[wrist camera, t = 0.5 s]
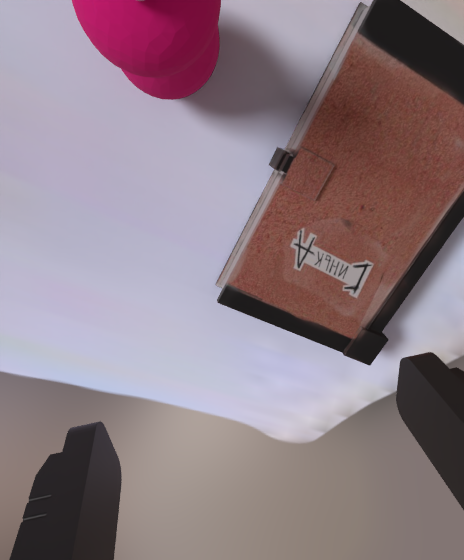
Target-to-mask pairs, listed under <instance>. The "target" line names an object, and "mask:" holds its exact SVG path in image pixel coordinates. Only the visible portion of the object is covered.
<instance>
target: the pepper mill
mask: <svg viewBox="0 0 464 560" xmlns="http://www.w3.org/2000/svg"><path fill="white" fill-rule="evenodd" d="M72 3H73V6H74V9H75V12H76V15H77V18H78V20H79V22H80V24H81V26H82V28H83V30H84V31H85V33H86V34H87V36H88V37H89V39H90V40H91V42H92V43H93V45H94V46H95V47H96V48H97V49H98V50H99V52H100V53H101V54H102V55H103V56H104V57H106V58H107V59H108V60H109V61H110V62H112V63H113V64H114V65H116V66H117V67H119V68H121V69H122V71H123V72H124V74H125V75H126V76H127V77H128V79H129V80H130V81H131V82H132V83H133V84H134V85H135V86H136V87H137V88H139V89H140V90H142V91H143V92H145V93H147V94H149V95H151V96H153V97H157V98H160V99H172V100H173V99H180V98H183V97H186V96H189V95H191V94H193V93H195V92H196V91H197V90H198V89H200V88H201V87H202V86H203V85H204V84H205V83H206V82H207V80H208V79H209V77H210V76H211V74H212V72H213V70H214V68H215V66H216V62H217V59H218V54H219V31H218V20H219V14H220V7H221V0H72Z"/></svg>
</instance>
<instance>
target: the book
mask: <svg viewBox="0 0 464 560" xmlns="http://www.w3.org/2000/svg"><path fill="white" fill-rule="evenodd" d="M269 165H270V166H271V167H273V168H274V171H273V173H272V175H271V177H270V179H269V181H268V183H267V185H266V187H265V189H264V191H263V193H262V195H261V197H260V198H259V200H258V202H257V204H256V206H255V208H254V210H253V212H252V214H251V216H250V218H249V220H248V222H247V224H246V226H245V228H244V230H243V232H242V234H241V236H240V237H239V239H238V241H237V243H236V245H235V247H234V249H233V251H232V253H231V255H230V257H229V259H228V261H227V263H226V265H225V267H224V269H223V271H222V273H221V275H220V277H219V278H218V280H217V282H216V286H218V287H221V288H222V291H221V293H220V295H219V297H218V299H217V301H218V303H220V304H222V305H225V306H227V307H230V308H232V309H235V310H237V311H240V312H242V313H245V314H247V315H250V316H252V317H255V318H257V319H260V320H262V321H265V322H267V323H270V324H272V325H275V326H277V327H280V328H282V329H285V330H287V331H290V332H292V333H295V334H297V335H300V336H302V337H305V338H307V339H310V340H312V341H315V342H317V343H320V344H322V345H325V346H327V347H330V348H332V349H335V350H337V351H340V352H342V353H343V354H344V355H345V356H347V357H350V358H352V359H355V360H357V361H360V362H362V363H365V364H367V365H371V363H372V362H373V361H374V359H375V358H376V356H377V355H378V354H379V352H380V351H381V350H382V348H383V347H384V345H385V344H386V343H387V341H388V338H387V337H386V336H385V335H384V334H383V333H382V331H383V329H384V328H385V326H386V325H387V324H388V322H389V321H390V319H391V318H392V317H393V315H394V314H395V312H396V311H397V310H398V308H399V307H400V305H401V304H402V303H403V301H404V300H405V298H406V297H407V296H408V294H409V293H410V291H411V290H412V289H413V287H414V286H415V284H416V283H417V281H418V280H419V279H420V277H421V276H422V274H423V273H424V272H425V270H426V269H427V267H428V266H429V265H430V263H431V262H432V260H433V259H434V258H435V256H436V255H437V253H438V252H439V251H440V249H441V248H442V246H443V245H444V244H445V242H446V241H447V239H448V238H449V237H450V235H451V234H452V232H453V231H454V230H455V228H456V227H457V225H458V224H459V222H460V221H461V220H462V218H463V217H464V45H463V44H462V43H460V42H459V41H457V40H456V39H454V38H453V37H452V36H450V35H449V34H447V33H446V32H445V31H443V30H442V29H440V28H439V27H437V26H436V25H435V24H433V23H432V22H430V21H429V20H427V19H426V18H425V17H423V16H422V15H420V14H419V13H418V12H416V11H415V10H413V9H412V8H410V7H409V6H408V5H406V4H405V3H403V2H402V1H400V0H373V2H372V4H371V6H369V7H368V6H366V5H365V4H363V3H362V2H360V3H359V5H358V7H357V9H356V11H355V13H354V15H353V17H352V19H351V21H350V23H349V25H348V27H347V29H346V31H345V33H344V35H343V36H342V38H341V40H340V42H339V44H338V46H337V48H336V50H335V52H334V54H333V56H332V58H331V60H330V62H329V64H328V66H327V68H326V70H325V72H324V74H323V76H322V77H321V79H320V81H319V83H318V85H317V87H316V89H315V91H314V93H313V95H312V97H311V99H310V101H309V103H308V105H307V107H306V109H305V111H304V113H303V115H302V117H301V118H300V120H299V122H298V124H297V126H296V128H295V130H294V132H293V134H292V136H291V138H290V140H289V142H288V144H287V146H286V148H285V150H283V149H281V148H278V147H277V149H276V151H275V153H274V155H273V157H272V159H271V161H270V163H269Z"/></svg>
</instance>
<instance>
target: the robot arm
mask: <svg viewBox="0 0 464 560" xmlns="http://www.w3.org/2000/svg"><path fill="white" fill-rule="evenodd" d="M396 401H397V407H398V410H399V413H400V415H401V417H402V419H403V421H404V422H405V424H406V426H407V427H408V429H409V430H410V431H411V433H412V434H413V436H414V437H415V439H416V440H417V442H418V443H419V445H420V446H421V447H422V449H423V451H424V452H425V454H426V455H427V457H428V458H429V459H430V461H431V462H432V464H433V465H434V467H435V468H436V470H437V471H438V473H439V474H440V476H441V477H442V479H443V480H444V482H445V483H446V485H447V486H448V488H449V489H450V490H451V492H452V493H453V495H454V496H455V498H456V499H457V501H458V502H459V504H460V505H461V507H462V508H463V510H464V371H462V370H460V369H459V368H452V369H449V368H448V367H447V366H446V365H445V364H444V363H443V362H442V361H441V360H440V359H439V358H438V357H437V356H436V355H435V354H434V353H431V352H428V353H424V354H419V355H414V356H410V357H405V358H402V359H401V361H400V367H399V377H398V386H397V395H396ZM120 492H121V467H120V462H119V458H118V456H117V454H116V451H115V449H114V447H113V444H112V442H111V440H110V438H109V435H108V433H107V431H106V428H105V426H104V424H103V423H102V422H96V423H91V424H87V425H82V426H77V427H72V428H70V429H69V431H68V433H67V437H66V440H65V444H64V448H63V452H61V453H56V454H51V455H50V456H49V457H48V459H47V460H46V462H45V463H44V465H43V466H42V467H41V469H40V470H39V472H38V474H37V475H36V477H35V480H34V483H33V486H32V489H31V493H30V496H29V503H27V505H26V509H25V512H24V515H23V522H22V523H21V525H20V528H19V531H18V534H17V537H16V541H15V544H14V547H13V550H12V553H11V557H10V560H114V550H115V542H116V531H117V522H118V521H117V520H118V512H119V502H120Z"/></svg>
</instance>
